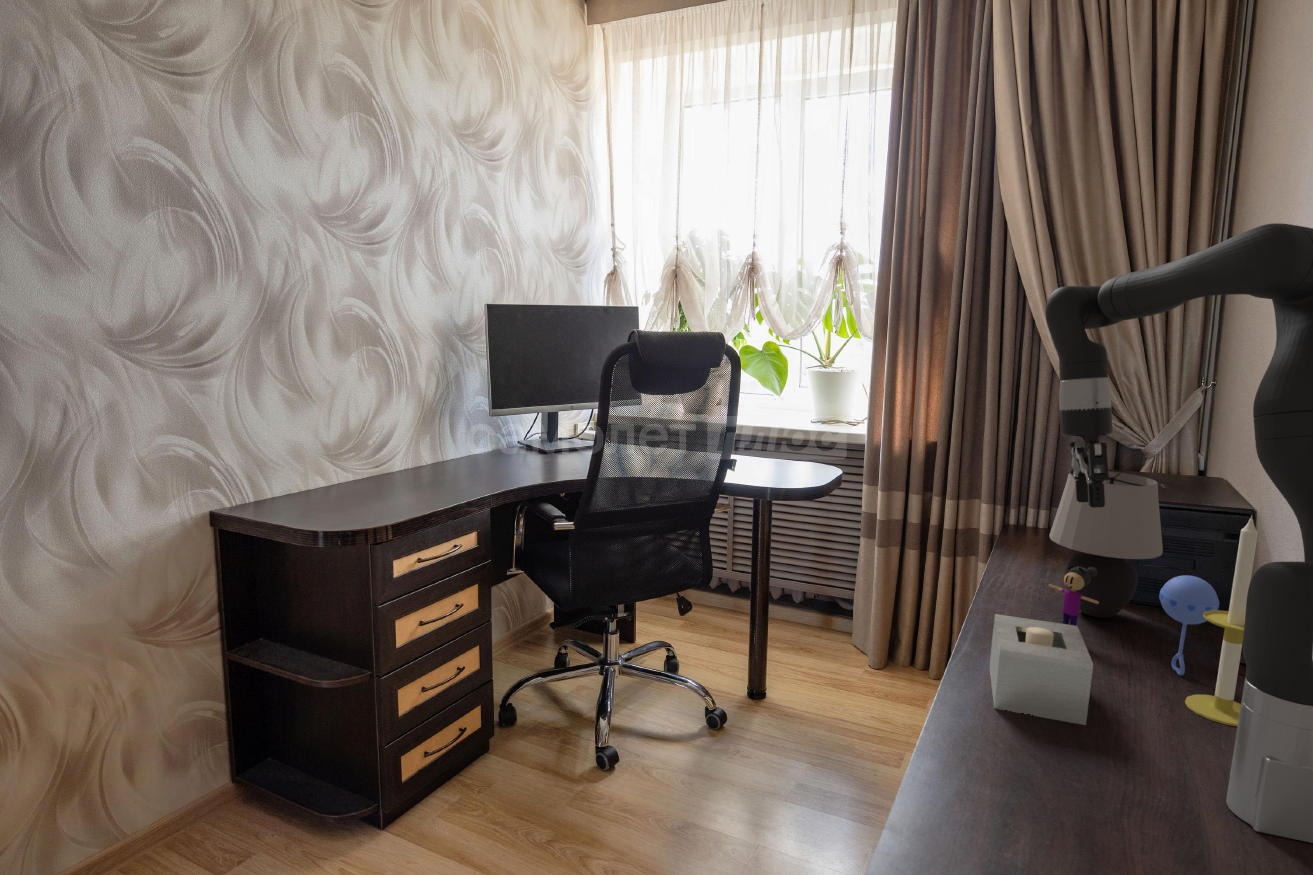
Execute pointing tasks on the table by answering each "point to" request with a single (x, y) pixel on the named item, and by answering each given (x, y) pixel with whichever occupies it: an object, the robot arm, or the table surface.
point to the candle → (1229, 638)
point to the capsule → (1039, 636)
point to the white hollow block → (1040, 670)
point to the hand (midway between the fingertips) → (1090, 504)
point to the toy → (1075, 592)
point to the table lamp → (1110, 538)
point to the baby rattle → (1187, 606)
